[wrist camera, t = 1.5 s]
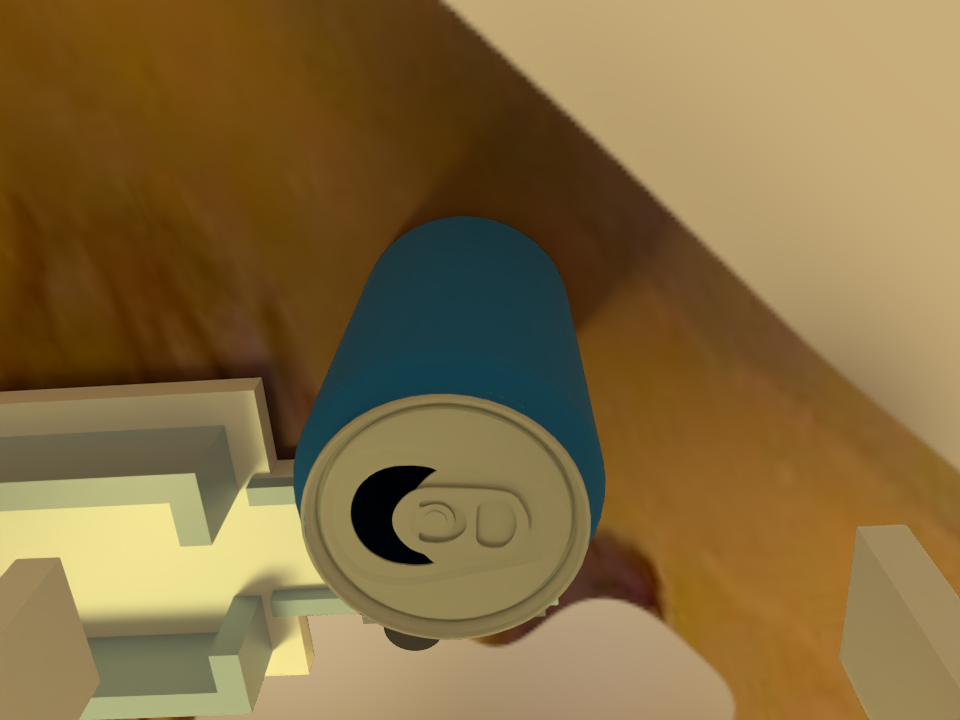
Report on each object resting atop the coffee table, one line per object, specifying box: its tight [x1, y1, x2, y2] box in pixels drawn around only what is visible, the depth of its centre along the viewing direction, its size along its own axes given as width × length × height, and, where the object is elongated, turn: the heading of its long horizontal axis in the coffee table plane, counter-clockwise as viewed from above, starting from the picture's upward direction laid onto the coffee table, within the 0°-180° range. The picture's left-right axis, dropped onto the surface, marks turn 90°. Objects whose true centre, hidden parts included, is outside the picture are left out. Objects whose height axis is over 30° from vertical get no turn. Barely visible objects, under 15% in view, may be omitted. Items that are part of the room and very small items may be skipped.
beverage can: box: [293, 216, 605, 640], centre depth 22 cm, size 6×6×12 cm
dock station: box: [0, 377, 558, 720], centre depth 29 cm, size 22×12×4 cm, turn 94°
